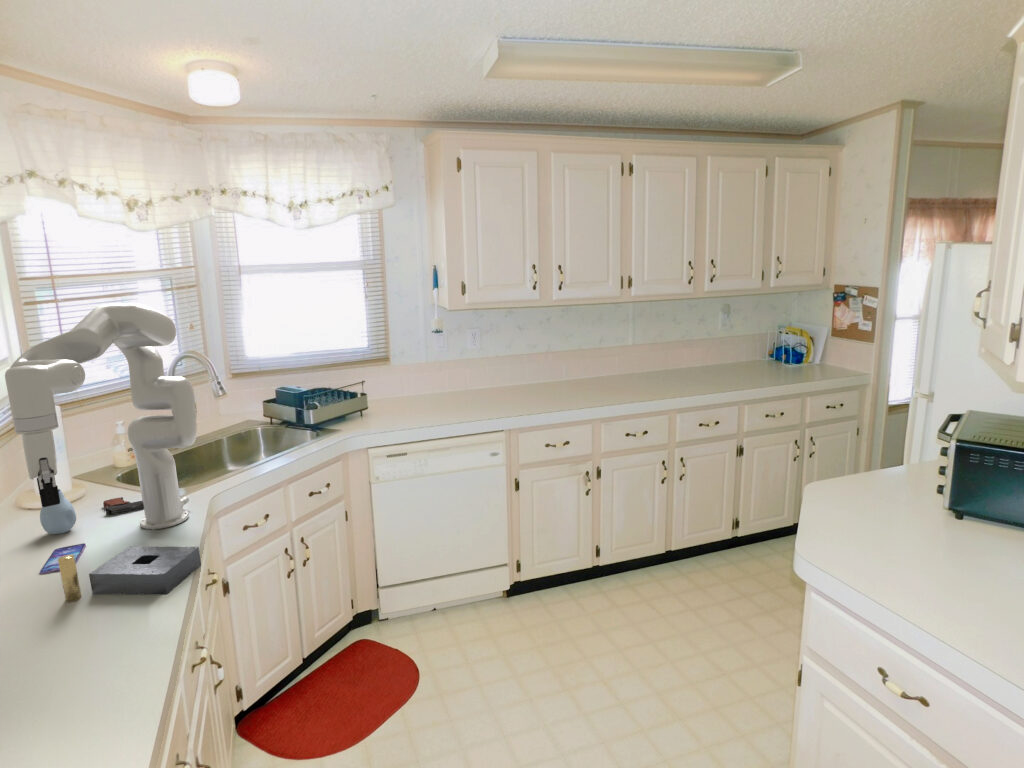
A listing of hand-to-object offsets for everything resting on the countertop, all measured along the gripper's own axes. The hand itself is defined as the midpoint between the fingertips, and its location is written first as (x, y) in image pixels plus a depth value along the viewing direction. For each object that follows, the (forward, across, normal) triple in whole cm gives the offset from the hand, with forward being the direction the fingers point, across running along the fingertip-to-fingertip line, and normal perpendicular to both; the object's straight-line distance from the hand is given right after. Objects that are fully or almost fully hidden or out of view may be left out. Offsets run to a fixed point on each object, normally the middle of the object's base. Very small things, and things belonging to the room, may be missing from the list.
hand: (49, 499), depth 140 cm
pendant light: (+24, -48, +2) cm, 53 cm away
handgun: (+24, -57, +21) cm, 65 cm away
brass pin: (+24, 0, +1) cm, 24 cm away
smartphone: (+24, -26, +1) cm, 36 cm away
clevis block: (+24, +2, +16) cm, 29 cm away
